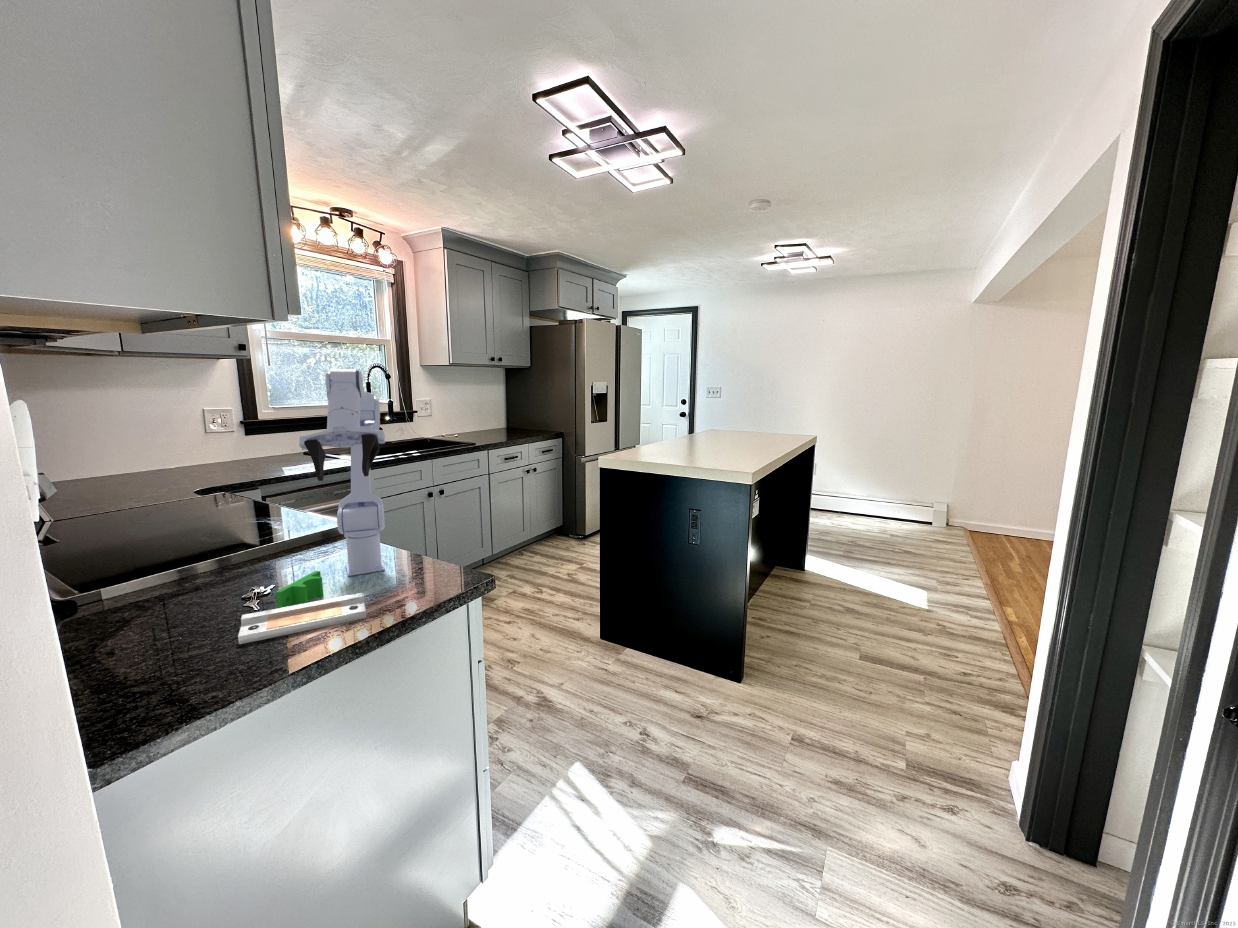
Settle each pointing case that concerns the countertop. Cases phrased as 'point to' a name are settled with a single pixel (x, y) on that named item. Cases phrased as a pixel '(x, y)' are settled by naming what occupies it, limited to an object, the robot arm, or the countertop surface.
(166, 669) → the countertop surface
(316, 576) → the green angular block
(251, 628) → the rail
